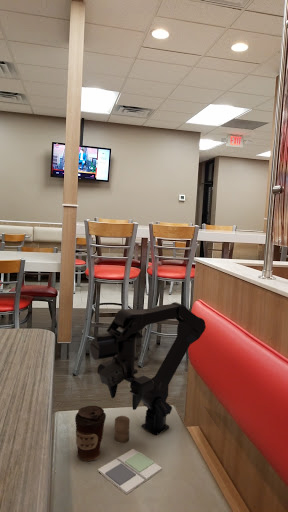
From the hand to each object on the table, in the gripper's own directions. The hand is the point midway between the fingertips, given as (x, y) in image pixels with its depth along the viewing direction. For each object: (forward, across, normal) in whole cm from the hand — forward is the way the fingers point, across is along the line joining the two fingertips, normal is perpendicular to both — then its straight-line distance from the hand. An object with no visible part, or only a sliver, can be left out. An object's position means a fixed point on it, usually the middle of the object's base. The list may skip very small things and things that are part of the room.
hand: (123, 403), depth 114 cm
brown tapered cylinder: (+11, 0, 0) cm, 11 cm away
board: (+11, +12, -8) cm, 18 cm away
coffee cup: (+11, -1, -12) cm, 17 cm away
